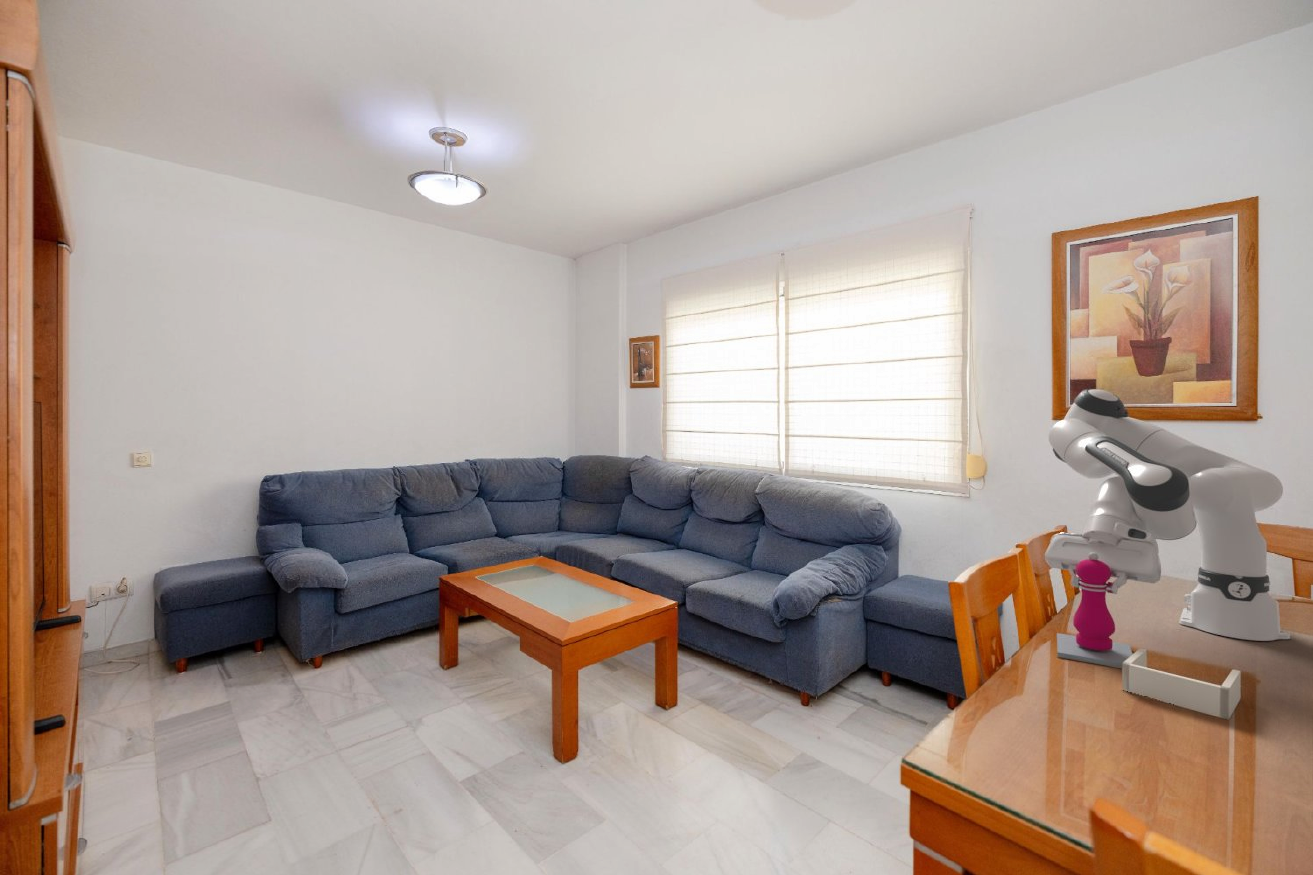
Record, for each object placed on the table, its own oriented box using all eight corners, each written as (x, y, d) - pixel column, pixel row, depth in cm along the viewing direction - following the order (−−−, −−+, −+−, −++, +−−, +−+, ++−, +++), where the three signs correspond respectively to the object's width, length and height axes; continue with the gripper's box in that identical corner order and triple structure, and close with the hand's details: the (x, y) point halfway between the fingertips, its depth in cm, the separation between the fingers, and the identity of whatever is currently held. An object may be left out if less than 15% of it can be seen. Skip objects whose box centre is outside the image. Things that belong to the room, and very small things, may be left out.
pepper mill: (1123, 652, 120) (1122, 556, 120) (1083, 650, 121) (1083, 555, 121) (1103, 640, 127) (1102, 549, 127) (1066, 638, 129) (1065, 548, 129)
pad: (1056, 637, 134) (1056, 633, 134) (1129, 649, 126) (1129, 644, 126) (1057, 656, 122) (1057, 652, 122) (1137, 670, 115) (1137, 665, 115)
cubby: (1140, 673, 114) (1140, 647, 114) (1240, 698, 103) (1240, 670, 103) (1122, 690, 106) (1122, 663, 106) (1228, 719, 95) (1228, 689, 95)
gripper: (1050, 523, 137) (1034, 570, 131) (1163, 535, 121) (1150, 590, 115) (1056, 539, 139) (1041, 587, 134) (1168, 553, 123) (1156, 608, 117)
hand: (1092, 588), depth 124 cm, fingers closed on pepper mill, 5 cm apart
